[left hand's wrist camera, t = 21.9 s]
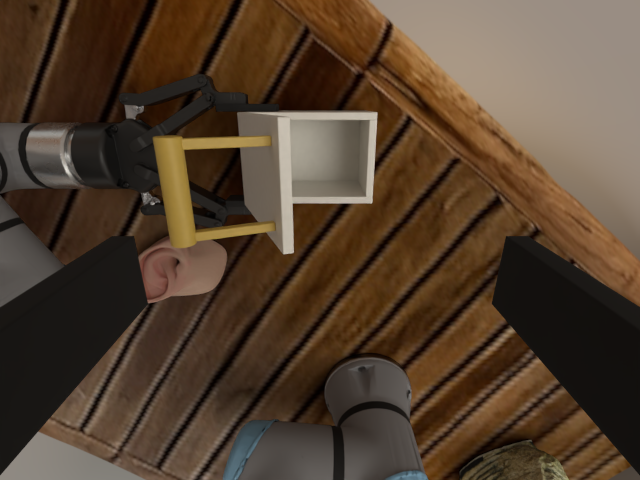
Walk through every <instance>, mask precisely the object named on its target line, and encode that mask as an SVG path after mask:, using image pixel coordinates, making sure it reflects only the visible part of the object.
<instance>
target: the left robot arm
mask: <svg viewBox="0 0 640 480" xmlns="http://www.w3.org/2000/svg"><path fill="white" fill-rule="evenodd" d="M147 305H148V301H147V296H146V291H145V287H144V282H143V277H142V272H141V268H140V263H139V258H138V253H137V249H136V244H135V239H134V236H112V237H110V238H109V239H107V240H106V241H104V242H102V243H101V244H99V245H98V246H96V247H94V248H93V249H91V250H90V251H88V252H87V253H85V254H83V255H82V256H80V257H79V258H77V259H76V260H74V261H72V262H71V263H69V264H68V265H66V266H64V267H63V268H61V269H60V270H58V271H57V272H55V273H53V274H52V275H50V276H49V277H47V278H46V279H44V280H42V281H41V282H39V283H38V284H36V285H34V286H33V287H31V288H30V289H28V290H27V291H25V292H23V293H22V294H20V295H19V296H17V297H16V298H14V299H12V300H11V301H9V302H8V303H6V304H4V305H3V306H1V307H0V475H1V474H2V473H3V471H4V470H5V469H6V468H7V467H8V466H9V464H10V463H11V462H12V461H13V460H14V459H15V457H16V456H17V455H18V454H19V453H20V452H21V450H22V449H23V448H24V447H25V446H26V445H27V443H28V442H29V441H30V440H31V439H32V438H33V437H34V435H35V434H36V433H37V432H38V431H39V430H40V429H41V427H42V426H43V425H44V424H45V423H46V422H47V420H48V419H49V418H50V417H51V416H52V415H53V413H54V412H55V411H56V410H57V409H58V408H59V406H60V405H61V404H62V403H63V402H64V401H65V400H66V398H67V397H68V396H69V395H70V394H71V393H72V391H73V390H74V389H75V388H76V387H77V386H78V384H79V383H80V382H81V381H82V380H83V379H84V378H85V376H86V375H87V374H88V373H89V372H90V371H91V369H92V368H93V367H94V366H95V365H96V364H97V362H98V361H99V360H100V359H101V358H102V357H103V356H104V354H105V353H106V352H107V351H108V350H109V349H110V347H111V346H112V345H113V344H114V343H115V342H116V340H117V339H118V338H119V337H120V336H121V335H122V333H123V332H124V331H125V330H126V329H127V328H128V327H129V325H130V324H131V323H132V322H133V321H134V320H135V318H136V317H137V316H138V315H139V314H140V313H141V311H142V310H143V309H144V308H145V307H146V306H147ZM492 305H493V306H494V307H495V308H496V309H497V310H498V311H499V313H500V314H501V315H502V316H503V317H504V318H505V320H506V321H507V322H508V323H509V324H510V325H511V327H512V328H513V329H514V330H515V331H516V332H517V333H518V335H519V336H520V337H521V338H522V339H523V340H524V342H525V343H526V344H527V345H528V346H529V347H530V349H531V350H532V351H533V352H534V353H535V354H536V356H537V357H538V358H539V359H540V360H541V361H542V362H543V364H544V365H545V366H546V367H547V368H548V369H549V371H550V372H551V373H552V374H553V375H554V376H555V378H556V379H557V380H558V381H559V382H560V383H561V384H562V386H563V387H564V388H565V389H566V390H567V391H568V393H569V394H570V395H571V396H572V397H573V398H574V400H575V401H576V402H577V403H578V404H579V405H580V406H581V408H582V409H583V410H584V411H585V412H586V413H587V415H588V416H589V417H590V418H591V419H592V420H593V422H594V423H595V424H596V425H597V426H598V427H599V429H600V430H601V431H602V432H603V433H604V434H605V435H606V437H607V438H608V439H609V440H610V441H611V442H612V444H613V445H614V446H615V447H616V448H617V449H618V451H619V452H620V453H621V454H622V455H623V456H624V457H625V459H626V460H627V461H628V462H629V463H630V464H631V466H632V467H633V468H634V469H635V470H636V471H637V472H638V474H639V475H640V307H639V306H637V305H636V304H634V303H632V302H631V301H629V300H628V299H626V298H624V297H623V296H621V295H620V294H618V293H617V292H615V291H613V290H612V289H610V288H609V287H607V286H606V285H604V284H602V283H601V282H599V281H598V280H596V279H594V278H593V277H591V276H590V275H588V274H587V273H585V272H583V271H582V270H580V269H579V268H577V267H576V266H574V265H572V264H571V263H569V262H568V261H566V260H564V259H563V258H561V257H560V256H558V255H557V254H555V253H553V252H552V251H550V250H549V249H547V248H546V247H544V246H542V245H541V244H539V243H538V242H536V241H534V240H533V239H531V238H530V237H528V236H506V239H505V244H504V249H503V253H502V258H501V263H500V268H499V272H498V277H497V282H496V286H495V291H494V296H493V301H492ZM325 400H326V405H327V407H328V410H329V412H330V413H331V415H332V418H333V421H334V423H335V426H330V425H318V424H307V423H296V422H284V421H279V420H278V419H273V420H271V421H269V420H252V421H250V422H248V423H247V424H245V425H244V427H243V428H242V429H241V430H240V432H239V434H238V435H237V438H236V440H235V442H234V444H233V447H232V449H231V452H230V455H229V458H228V461H227V464H226V467H225V471H224V475H223V480H428V478H427V476H426V475H425V471H424V468H423V464H422V461H421V458H420V454H419V451H418V448H417V444H416V441H415V437H414V434H413V431H412V427H411V424H410V420H409V417H410V402H411V385H410V382H409V379H408V376H407V373H406V372H405V370H404V369H403V367H402V366H401V365H400V364H399V363H397V362H396V361H394V360H393V359H391V358H389V357H386V356H383V355H378V354H359V355H355V356H352V357H349V358H347V359H345V360H343V361H341V362H340V363H338V364H337V365H336V366H335V367H334V368H333V369H332V370H331V371H330V372H329V374H328V376H327V378H326V381H325Z"/></svg>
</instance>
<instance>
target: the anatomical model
mask: <svg viewBox="0 0 640 480" xmlns="http://www.w3.org/2000/svg"><path fill="white" fill-rule="evenodd" d="M138 258H139V263H140V268H141V272H142V277H143V282H144V287H145V291H146V296H147V301H148V303H152V302H157V301H160V300H163V299H166V298H168V297H170V296H185V295H196V294H202V293H206V292H209V291H211V290H212V289H214V288H215V287H216V286H217V285H218V283H219V282H220V280H221V278H222V276H223V273H224V270H225V266H226V262H227V253H226V250H225V249H224V248H223V247H222V246H221V245H220V244H218V243H217V242H215V241H213V240H203V241H197V243H196V244H195V245H193V246H190V247H186V248H174V247H172V246H171V242H170V236H166V237H164V238H162V239H160V240H159V241H157V242H156V243H154V244H153V245H152V246H151V247H149V248H148V249H146V250H145V251H143V252H142V253H141V254H140V255H139V256H138Z"/></svg>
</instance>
